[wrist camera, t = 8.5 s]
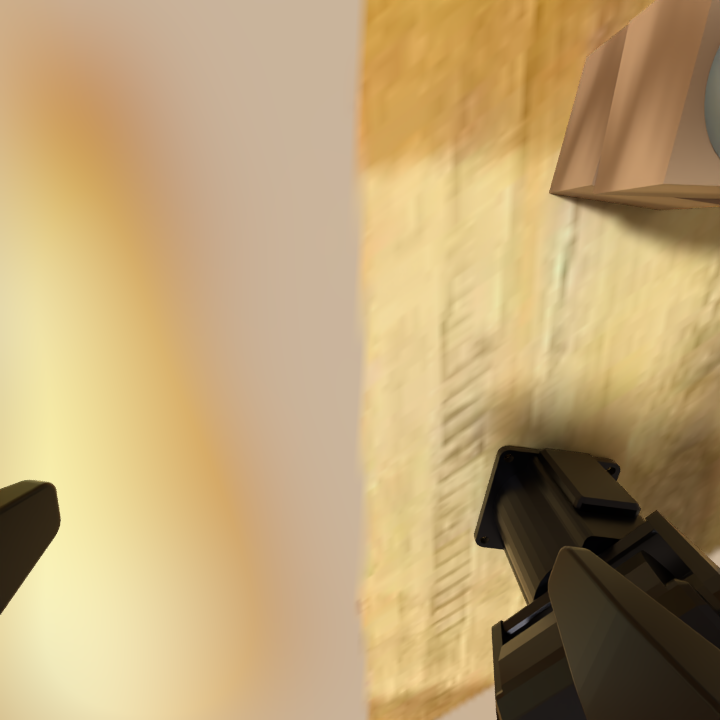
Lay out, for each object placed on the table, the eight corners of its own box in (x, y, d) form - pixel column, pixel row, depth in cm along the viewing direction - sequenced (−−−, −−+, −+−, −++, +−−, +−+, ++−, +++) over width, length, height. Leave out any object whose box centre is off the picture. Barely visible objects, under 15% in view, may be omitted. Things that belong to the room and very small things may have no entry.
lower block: (659, 210, 17) (728, 206, 14) (548, 193, 17) (591, 184, 14) (708, 77, 15) (800, 36, 12) (585, 57, 15) (645, 10, 12)
